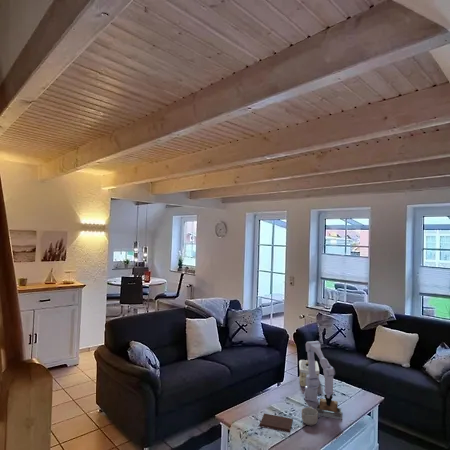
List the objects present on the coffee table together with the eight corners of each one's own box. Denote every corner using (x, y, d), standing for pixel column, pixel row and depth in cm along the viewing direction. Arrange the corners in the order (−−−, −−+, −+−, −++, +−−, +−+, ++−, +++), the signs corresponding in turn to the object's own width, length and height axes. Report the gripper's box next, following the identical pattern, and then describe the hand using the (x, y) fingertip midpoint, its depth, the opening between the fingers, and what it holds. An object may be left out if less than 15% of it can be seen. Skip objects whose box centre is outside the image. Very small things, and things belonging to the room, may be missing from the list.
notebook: (264, 415, 242) (264, 412, 242) (292, 420, 236) (292, 417, 236) (259, 426, 228) (259, 423, 228) (289, 432, 222) (289, 429, 222)
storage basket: (298, 375, 311) (299, 359, 311) (317, 377, 308) (317, 360, 308) (299, 387, 287) (299, 369, 287) (319, 389, 284) (319, 371, 284)
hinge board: (314, 414, 244) (314, 409, 244) (316, 407, 253) (316, 402, 254) (341, 419, 238) (341, 414, 238) (342, 412, 247) (342, 407, 247)
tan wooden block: (319, 409, 246) (319, 400, 246) (320, 406, 250) (320, 398, 250) (337, 412, 242) (337, 403, 242) (337, 409, 245) (337, 401, 246)
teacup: (314, 429, 226) (315, 416, 226) (298, 424, 231) (299, 412, 232) (321, 419, 237) (321, 407, 238) (305, 414, 243) (306, 403, 243)
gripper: (334, 389, 238) (334, 409, 238) (335, 381, 251) (335, 400, 251) (323, 388, 240) (323, 407, 240) (325, 379, 254) (324, 398, 254)
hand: (328, 403), depth 246 cm, fingers closed on tan wooden block, 4 cm apart
